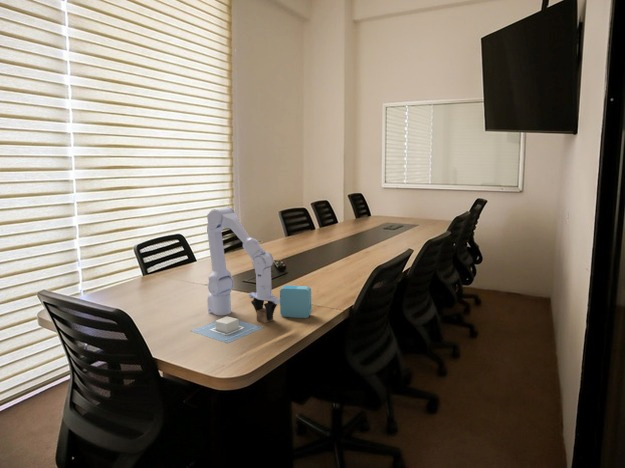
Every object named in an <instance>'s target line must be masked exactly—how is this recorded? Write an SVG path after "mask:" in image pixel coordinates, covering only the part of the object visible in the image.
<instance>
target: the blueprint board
mask: <svg viewBox="0 0 625 468" xmlns="http://www.w3.org/2000/svg"><path fill="white" fill-rule="evenodd" d="M263 328H264V326H260V325H256V324H253V323H250V322H245V321H242V320H239V329H236V330H234V331H231V332H229V333H224V332H221V331H217V330H216V329H215V321H212V322H210V323H207V324H205V325H202V326H200V327H197V328H194V329H192V330H190V332H192V333H195V334H199V335H201V336H204V337H207V338H210V339H213V340H217V341H220V342H223V343H226V344H229V343H232V342H234V341H237V340H238V339H241V338H243V337H246V336H248V335H250V334H252V333H255V332H257V331H259V330H262V329H263Z"/></svg>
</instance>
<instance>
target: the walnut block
mask: <svg viewBox="0 0 625 468" xmlns="http://www.w3.org/2000/svg"><path fill="white" fill-rule="evenodd" d="M256 312H257V313H256ZM255 313H256V322H260V323H264V324H267V323H269V322H271V321H273V320H274V317H273V318H272V320H270V321H268V320H267V313H266V308H265V307H263V308H262V309H260V310H257V311H256V310H255Z"/></svg>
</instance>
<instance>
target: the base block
mask: <svg viewBox="0 0 625 468" xmlns="http://www.w3.org/2000/svg"><path fill="white" fill-rule="evenodd" d="M239 321H240V320H239V318H235V317H232V316H228V315H226V316H224V317H221V318H219V319H217V320H215V321H214V322H215V329H216V330H217V331H221V332H224V333H229V332H231V331H234V330H236V329H239Z"/></svg>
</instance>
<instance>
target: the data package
mask: <svg viewBox="0 0 625 468" xmlns="http://www.w3.org/2000/svg"><path fill="white" fill-rule="evenodd" d="M279 298H280V303H279V309H280V311H279V314H280V316H282V317H283V318H294V319H295V318H297V319H307V318H309V317H310V315H311V314H312V288H311V287H310V286H306V285H304V286H303V285H284V286H282V288H281V289H280V290H279Z"/></svg>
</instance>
